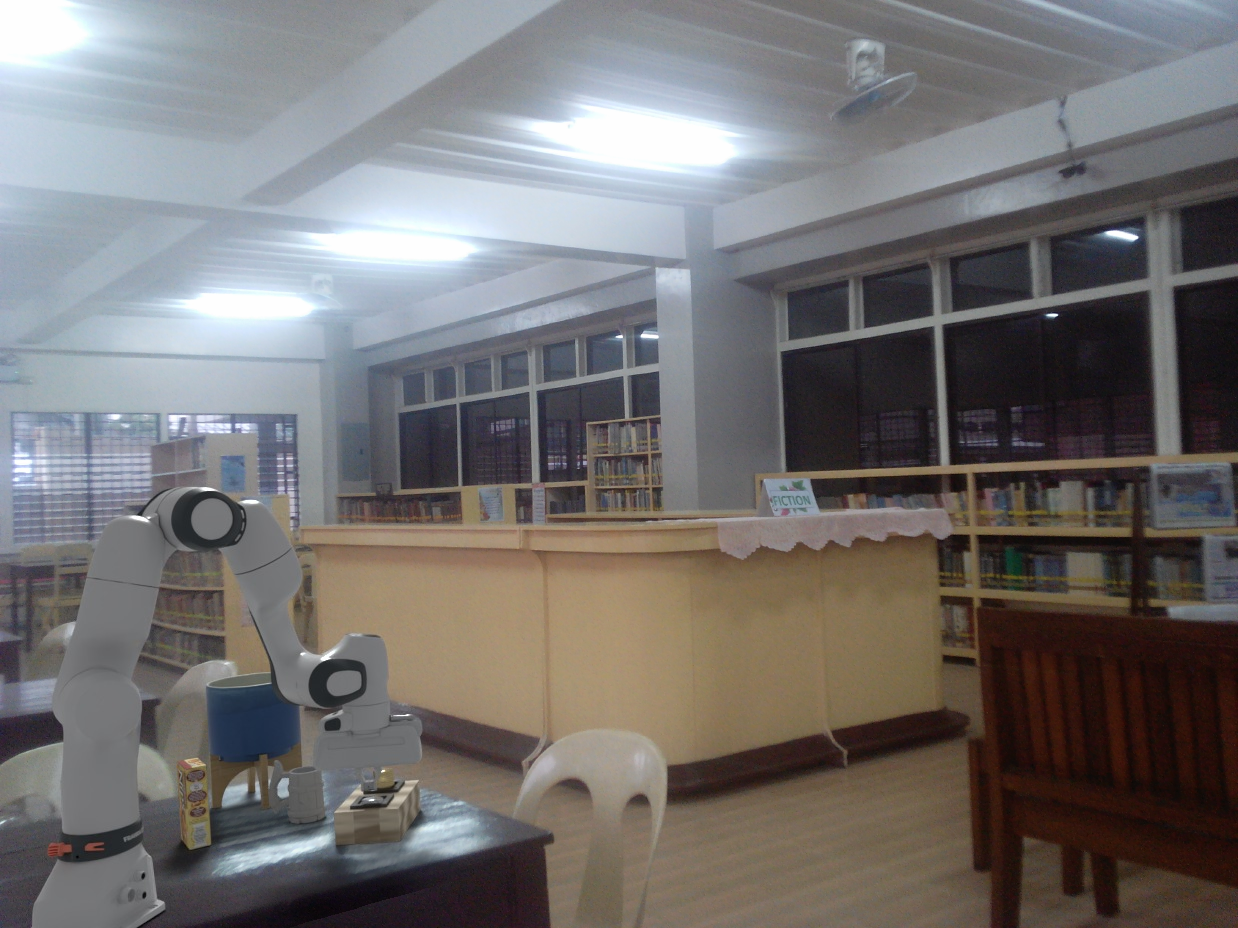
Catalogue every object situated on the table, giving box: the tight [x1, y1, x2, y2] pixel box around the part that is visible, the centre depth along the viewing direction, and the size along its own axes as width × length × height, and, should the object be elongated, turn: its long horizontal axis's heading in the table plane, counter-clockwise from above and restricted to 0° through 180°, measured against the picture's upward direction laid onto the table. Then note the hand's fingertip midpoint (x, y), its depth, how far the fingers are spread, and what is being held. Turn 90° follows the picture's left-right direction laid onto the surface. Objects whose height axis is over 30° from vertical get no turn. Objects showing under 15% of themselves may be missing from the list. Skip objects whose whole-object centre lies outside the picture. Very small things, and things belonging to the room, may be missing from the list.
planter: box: [205, 671, 303, 811], centre depth 231 cm, size 19×19×26 cm
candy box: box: [176, 757, 212, 851], centre depth 202 cm, size 9×4×15 cm, turn 33°
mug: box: [268, 760, 327, 825], centre depth 214 cm, size 8×12×12 cm, turn 85°
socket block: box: [333, 779, 422, 846], centre depth 204 cm, size 20×12×7 cm, turn 0°
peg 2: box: [372, 767, 395, 789], centre depth 209 cm, size 4×4×6 cm
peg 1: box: [362, 796, 383, 804], centre depth 199 cm, size 4×4×6 cm
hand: (369, 790), depth 199 cm, fingers closed
